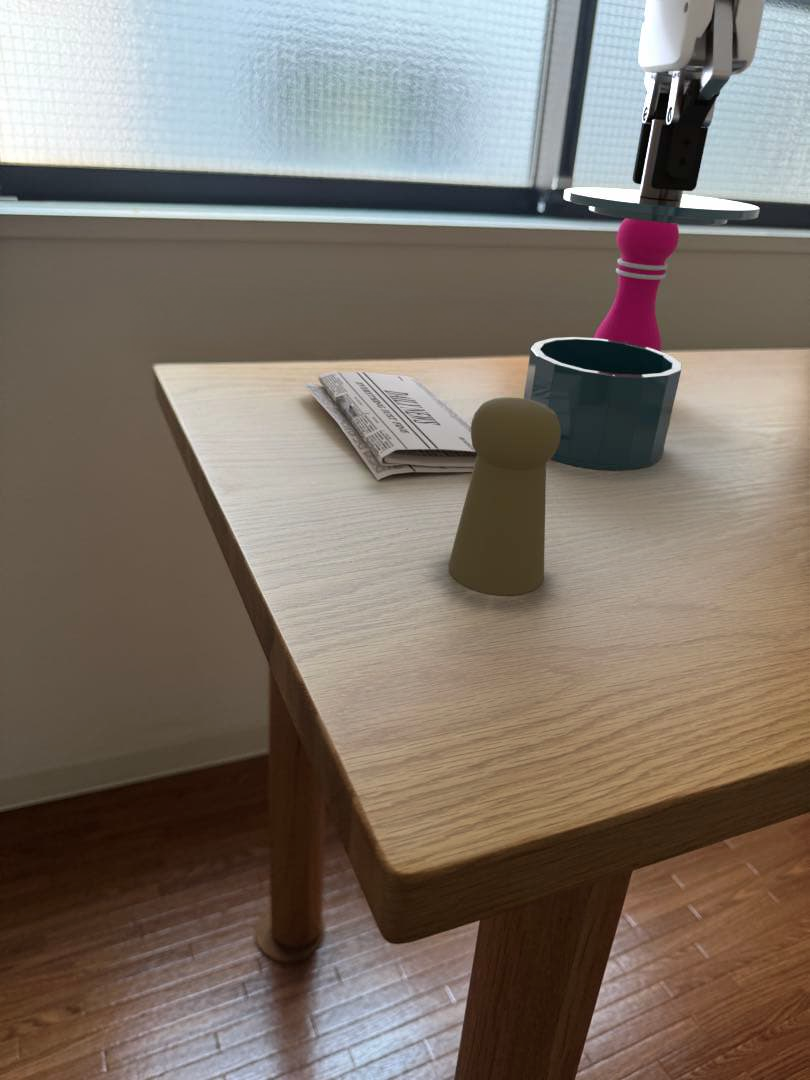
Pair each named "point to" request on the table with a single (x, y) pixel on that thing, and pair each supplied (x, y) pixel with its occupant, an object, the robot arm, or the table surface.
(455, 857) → the table surface
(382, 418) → the newspaper
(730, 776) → the table surface
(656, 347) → the pepper mill
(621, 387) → the tin
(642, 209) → the tin lid
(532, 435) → the olive brown pawn
